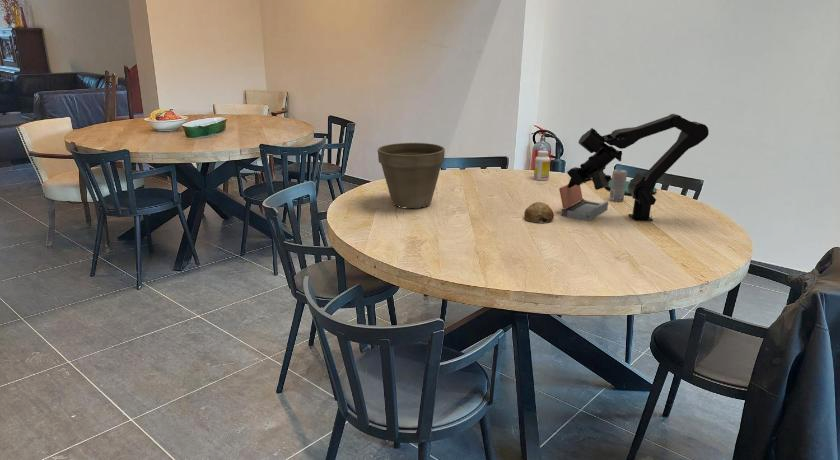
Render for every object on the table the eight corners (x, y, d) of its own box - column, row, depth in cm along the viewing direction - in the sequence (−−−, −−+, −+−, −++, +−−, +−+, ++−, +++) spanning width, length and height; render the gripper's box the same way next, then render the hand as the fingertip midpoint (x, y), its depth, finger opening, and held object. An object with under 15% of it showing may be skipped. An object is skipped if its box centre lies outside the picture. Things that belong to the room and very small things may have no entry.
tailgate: (582, 199, 212) (579, 180, 211) (566, 207, 201) (562, 187, 200) (579, 199, 213) (575, 180, 212) (562, 208, 202) (558, 188, 201)
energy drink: (621, 198, 223) (625, 169, 220) (624, 202, 218) (628, 172, 214) (607, 198, 224) (611, 168, 220) (610, 201, 219) (614, 171, 215)
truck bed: (607, 209, 208) (608, 201, 207) (588, 221, 195) (589, 212, 194) (586, 205, 213) (587, 197, 212) (566, 216, 200) (567, 208, 199)
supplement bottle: (550, 178, 255) (553, 151, 250) (545, 181, 249) (548, 153, 245) (536, 176, 258) (538, 149, 254) (531, 179, 253) (533, 151, 248)
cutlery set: (621, 197, 225) (622, 192, 225) (584, 181, 253) (585, 176, 252) (664, 195, 230) (665, 190, 229) (623, 180, 257) (624, 175, 257)
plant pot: (369, 210, 205) (368, 152, 198) (389, 193, 227) (388, 140, 220) (435, 215, 199) (437, 156, 192) (448, 198, 222) (450, 144, 215)
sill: (587, 205, 213) (587, 199, 212) (566, 216, 199) (567, 210, 199) (581, 204, 214) (582, 198, 214) (561, 215, 201) (561, 208, 200)
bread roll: (528, 232, 194) (534, 215, 188) (517, 213, 201) (523, 196, 195) (554, 230, 196) (560, 213, 191) (542, 211, 203) (548, 194, 198)
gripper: (604, 182, 185) (571, 209, 195) (624, 173, 198) (593, 198, 209) (583, 157, 187) (551, 185, 197) (604, 149, 201) (574, 176, 211)
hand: (568, 186), depth 203 cm, fingers closed, pressing on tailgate
